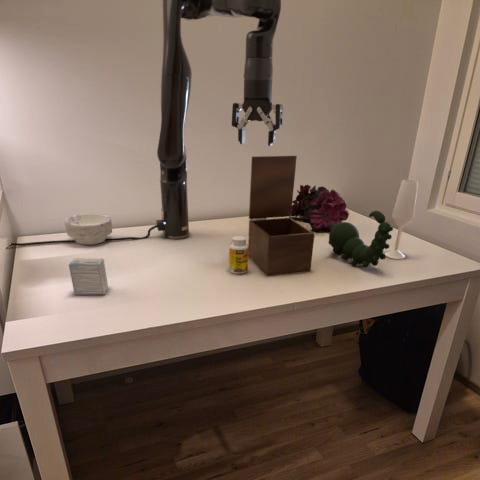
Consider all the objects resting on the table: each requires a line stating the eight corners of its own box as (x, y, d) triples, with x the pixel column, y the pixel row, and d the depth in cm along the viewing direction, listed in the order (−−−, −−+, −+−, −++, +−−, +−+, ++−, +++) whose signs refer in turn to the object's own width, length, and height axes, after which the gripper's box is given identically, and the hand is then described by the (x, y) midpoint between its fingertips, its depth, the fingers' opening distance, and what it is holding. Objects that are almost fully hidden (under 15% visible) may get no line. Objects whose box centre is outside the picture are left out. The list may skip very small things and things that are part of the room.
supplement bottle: (234, 275, 122) (234, 242, 118) (226, 269, 127) (226, 236, 122) (250, 272, 125) (252, 239, 120) (242, 266, 129) (243, 234, 124)
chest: (310, 271, 127) (314, 233, 121) (266, 276, 123) (268, 236, 117) (287, 252, 141) (290, 217, 136) (248, 255, 137) (249, 220, 132)
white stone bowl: (116, 245, 144) (113, 222, 140) (69, 250, 139) (65, 226, 135) (111, 232, 156) (108, 211, 153) (67, 236, 151) (63, 214, 148)
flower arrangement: (280, 215, 183) (283, 179, 176) (320, 211, 190) (323, 177, 182) (317, 235, 158) (322, 195, 151) (361, 231, 164) (367, 192, 157)
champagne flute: (387, 250, 145) (401, 178, 133) (407, 254, 142) (423, 180, 130) (382, 256, 140) (396, 181, 128) (402, 260, 137) (419, 184, 125)
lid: (297, 155, 125) (289, 152, 130) (252, 157, 122) (246, 153, 126) (290, 216, 135) (284, 211, 140) (249, 219, 131) (244, 213, 136)
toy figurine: (387, 275, 129) (336, 244, 147) (404, 216, 119) (347, 190, 137) (364, 280, 125) (314, 248, 143) (380, 219, 115) (324, 193, 133)
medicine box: (108, 288, 113) (104, 257, 109) (104, 295, 109) (99, 264, 105) (79, 288, 113) (73, 257, 109) (74, 295, 109) (68, 264, 105)
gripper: (288, 79, 111) (284, 144, 119) (239, 78, 116) (238, 142, 124) (279, 78, 105) (275, 147, 113) (227, 78, 110) (227, 144, 118)
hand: (256, 144), depth 118 cm, fingers open, 8 cm apart
